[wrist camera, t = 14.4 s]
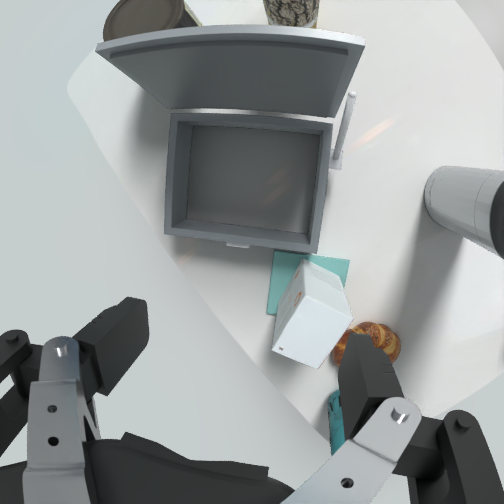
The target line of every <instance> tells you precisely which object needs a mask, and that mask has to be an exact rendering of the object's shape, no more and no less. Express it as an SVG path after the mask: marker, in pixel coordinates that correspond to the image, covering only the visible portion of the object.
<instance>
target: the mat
mask: <svg viewBox="0 0 504 504" xmlns="http://www.w3.org/2000/svg"><path fill="white" fill-rule="evenodd" d="M302 258H304V259H306V260H308V261H310V262H312V263H314V264H316V265H318V266H320V267H322V268H324V269H326V270H328V271H330V272H332V273H334V274H336V275H338V276H339V277H340V280H341V283H342V285H343V288H344V286H345V282H346V277H347V272H348V267H349V262H350V261H349V260H344V259H337V258H329V257H322V256H314V255H307V254H299V253H291V252H284V251H276V250H275V251H274V258H273V266H272V274H271V282H270V290H269V298H268V306H267V313H270V314H277V309H278V302H279V300H280V298H281V296H282V294H283V292H284V290H285V289H286V287H287V285H288V283H289V281H290V279H291V278H292V276H293V274H294V272H295V270H296V268H297V267H298V265H299V263H300V261H301V259H302Z"/></svg>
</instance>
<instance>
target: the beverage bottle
mask: <svg viewBox="0 0 504 504" xmlns="http://www.w3.org/2000/svg"><path fill="white" fill-rule="evenodd" d="M328 401H329V402H328V407H329V412H328V414H329V416H328V417H329V419H328V420H329V421H330V424H329V425H330V426H329V429H330V436H329V437H330V441H331V442H330V444H331V454H332V456H333V455H334V454H335V453H336V451H337V450H338V449H339V448H340V447H341V446H342V445H343V444H344V443H345V437H344V426H343V417H342V408H341V399H340V391H339V390H338V391H336V392H334V393H333V394H332V395H331V396H330V398H329V400H328Z"/></svg>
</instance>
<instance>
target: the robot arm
mask: <svg viewBox="0 0 504 504" xmlns="http://www.w3.org/2000/svg"><path fill="white" fill-rule="evenodd" d="M424 198H425V205H426V208H427V211H428V213H429V215H430V216H431V217H432V219H433V220H434V221H435V222H437V223H438V224H440V225H442V226H444V227H446V228H448V229H450V230H451V231H453V232H455V233H457V234H459V235H461V236H463V237H465V238H467V239H469V240H470V241H472V242H474V243H476V244H478V245H479V246H481V247H483V248H485V249H487V250H488V251H490V252H492V253H494V254H496V255H497V256H499V257H501V258H502V259H504V171H498V170H489V169H479V168H469V167H457V166H444V167H441V168H439V169H437V170H436V171H435V172H433V173H432V175H431V176H430V177H429V179H428V181H427V184H426V188H425V196H424ZM148 340H149V325H148V312H147V303H146V301H145V300H141V299H137V298H132V297H126V298H125V299H124V300H123V301H122V302H120V303H119V304H118V305H117V306H116V305H115V306H113V307H110V308H108V309H105V310H104V311H103V312H101V313H100V314H99V315H98V316H97V317H96V318H94V319H93V320H92V321H91V322H89V323H88V324H87V325H86V326H85V327H84V328H82V329H81V330H80V331H79V332H78V333H77V334H75V335H74V336H73V337H72V338H71V337H66V336H60V337H55V338H52V339H50V340H49V341H47V342H46V343H45V344H44V346H41V345H35V344H30V341H29V338H28V335H27V333H26V332H25V331H22V330H10V331H7V332H5V333H4V334H2V335H1V336H0V383H1V382H2V381H3V380H4V379H5V378H6V377H7V376H8V375H9V374H10V376H11V378H12V380H13V382H14V386H13V387H12V388H11V389H10V390H9V391H8V392H7V393H6V394H5V395H4V396H3V397H2V398H1V399H0V457H1V455H2V454H3V453H4V451H5V450H6V449H7V448H8V446H9V445H10V444H11V442H12V441H13V440H14V438H15V437H16V436H17V435H18V433H19V432H20V431H21V430H22V428H23V427H24V426H25V425H26V423H27V422H28V426H27V461H23V462H19V463H15V464H11V465H6V466H2V467H0V504H369V503H370V502H371V501H372V500H373V498H374V497H375V496H376V494H377V493H378V491H379V490H380V489H381V487H382V486H383V485H384V483H385V482H386V480H387V479H388V477H389V476H390V474H391V473H393V474H398V475H403V476H407V479H408V486H409V494H410V503H411V504H504V491H503V487H502V484H501V481H500V478H499V475H498V472H497V469H496V466H495V463H494V461H493V458H492V455H491V453H490V450H489V447H488V445H487V442H486V440H485V437H484V435H483V433H482V430H481V428H480V425H479V423H478V421H477V420H476V418H475V417H474V416H472V415H471V414H470V413H468V412H466V411H463V410H453V411H450V412H449V413H448V414H447V415H446V416H445V418H444V419H443V420H438V419H433V418H428V417H424V416H422V415H421V411H420V409H419V408H418V406H417V405H416V404H415V403H413V402H412V401H410V400H408V399H405V398H404V395H403V393H402V390H401V387H400V384H399V382H398V379H397V376H396V374H395V371H394V368H393V367H392V363H391V360H390V358H389V356H388V355H387V354H386V353H385V352H384V351H383V350H382V349H381V348H375V347H374V344H373V341H372V338H371V336H370V334H360V333H350V334H349V337H348V340H347V343H346V347H345V350H344V353H343V357H342V360H341V363H340V366H339V372H338V383H339V391H340V399H341V408H342V417H343V426H344V437H345V443H344V444H343V445H342V446H341V447H340V448H339V449H338V450H337V451H336V453H335V454H334V455H333V456H332V457H331V458H330V459H329V460H328V461H327V462H326V463H325V464H324V465H323V466H322V467H321V468H320V469H319V470H318V471H317V472H316V473H315V474H313V475H312V476H311V478H309V479H308V480H307V481H306V482H305V483H304V484H303V485H301V486H300V487H299V488H298V489H297V490H296V491H295V490H294V489H292V488H291V487H289V486H288V485H286V484H284V483H282V482H280V481H278V480H276V479H273V478H270V477H268V470H269V467H265V466H258V465H251V464H245V463H239V462H234V461H195V460H189V459H187V458H185V457H183V456H181V455H179V454H177V453H175V452H174V451H172V450H170V449H168V448H166V447H164V446H163V445H161V444H159V443H157V442H154V441H151V440H148V439H145V438H142V437H139V436H136V435H133V434H131V433H128V432H125V433H124V435H123V437H122V438H121V440H118V439H101V436H100V431H99V426H98V420H97V414H96V408H95V401H94V398H93V395H94V394H95V393H96V392H98V393H100V394H103V395H105V396H108V395H109V393H110V392H111V391H112V389H113V388H114V387H115V386H116V384H117V383H118V382H119V381H120V379H121V378H122V377H123V375H124V374H125V373H126V371H127V370H128V369H129V368H130V366H131V365H132V364H133V362H134V361H135V360H136V359H137V357H138V356H139V355H140V354H141V352H142V351H143V350H144V349H145V347H146V346H147V343H148Z"/></svg>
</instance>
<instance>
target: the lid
mask: <svg viewBox="0 0 504 504" xmlns="http://www.w3.org/2000/svg"><path fill="white" fill-rule="evenodd" d="M364 47H365V37H362V36H357V35H352V34H346V33H340V32H334V31H327V30H320V29H312V28H303V27H292V26H277V25H212V26H198V27H186V28H177V29H169V30H162V31H155V32H149V33H143V34H138V35H132V36H127V37H123V38H118V39H114V40H110V41H106V42H102V43H98V44H97V47H96V50H95V52H97V53H98V54H99V55H101V56H102V57H103V58H105V59H106V60H107V61H109V62H110V63H111V64H113V65H114V66H115V67H117V68H118V69H119V70H121V71H122V72H123V73H124V74H126V75H127V76H128V77H130V78H131V79H132V80H133V81H135V82H136V83H137V84H139V85H140V86H141V87H142V88H144V89H145V90H146V91H147V92H149V93H150V94H151V95H152V96H154V97H155V98H156V99H157V100H159V101H160V102H161V103H162V104H164V105H165V106H166V107H167V108H171V109H184V108H212V109H242V110H259V111H272V112H283V113H293V114H301V115H310V116H317V117H324V118H327V117H332V118H335V116H336V114H337V111H338V109H339V107H340V104H341V102H342V100H343V97H344V95H345V93H346V90H347V88H348V86H349V83H350V81H351V79H352V76H353V74H354V72H355V69H356V67H357V64H358V62H359V60H360V57H361V55H362V52H363V50H364Z"/></svg>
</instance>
